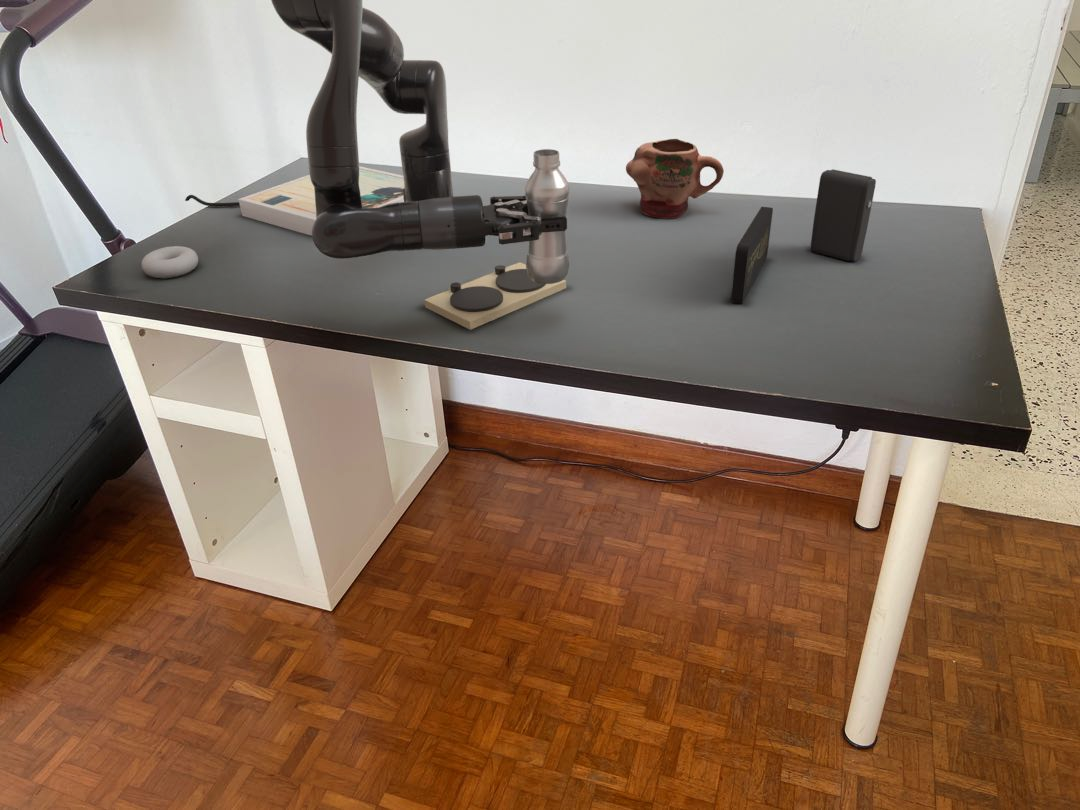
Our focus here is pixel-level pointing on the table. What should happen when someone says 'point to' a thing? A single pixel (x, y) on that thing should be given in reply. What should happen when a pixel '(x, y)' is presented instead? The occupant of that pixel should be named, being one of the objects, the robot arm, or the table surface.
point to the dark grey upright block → (842, 214)
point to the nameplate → (751, 254)
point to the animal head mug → (670, 176)
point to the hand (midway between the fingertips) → (562, 214)
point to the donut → (169, 262)
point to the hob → (490, 296)
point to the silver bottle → (547, 199)
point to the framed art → (297, 199)
